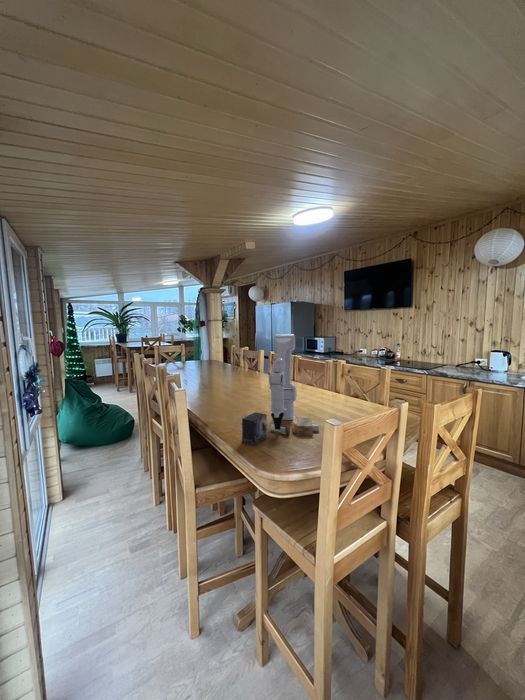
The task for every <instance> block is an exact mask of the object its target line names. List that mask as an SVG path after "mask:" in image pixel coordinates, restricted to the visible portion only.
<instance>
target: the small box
mask: <svg viewBox="0 0 525 700" xmlns="http://www.w3.org/2000/svg"><path fill="white" fill-rule="evenodd" d="M267 419H268V415H267V414H266V413H261V412H256V411H255V412H253V413H250V414H249V415H246V416H244V417H242V418H241V429H242V431H241V433H242V434H241V435H242V436H241V439H242V441H241V442H242V443H245V444H249V445H252V446H255V445H256V444H258V443H259V442H261V441H263V440H264V439H266V438H268V435H267V433H268V432H267V431H268V429H267V428H268V427H267V425H268V423H267ZM262 439H263V440H262Z"/></svg>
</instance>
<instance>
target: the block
mask: <svg viewBox="0 0 525 700" xmlns="http://www.w3.org/2000/svg"><path fill="white" fill-rule="evenodd" d="M296 420H297V433H296V436H314V432H313V425H312V424H313V420H312V417H296Z"/></svg>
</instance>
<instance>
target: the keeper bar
mask: <svg viewBox="0 0 525 700" xmlns="http://www.w3.org/2000/svg"><path fill="white" fill-rule="evenodd" d="M270 430H273V431H277V432H280V433H283V434H286V427H284V426H281V427H280V429H275V426H274V423H273V424H272V423H271V424H270Z"/></svg>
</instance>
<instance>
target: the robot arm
mask: <svg viewBox="0 0 525 700" xmlns="http://www.w3.org/2000/svg"><path fill="white" fill-rule="evenodd" d="M273 343H274V346H275V348H276V349H277V351H276V353H277V354H276V359H275V360H273V364H272V369H271V373H270V374H269V376H268V383H269V389H270V412H271V414H270V416H271V417H272V418H271V419H272V420H273V425H274V426H275V429H280V427H282V426H281V425H282V421H293V420H296V418H295V417H296V416H295V407H294V404H295V403H294V402H296V401H297V395H298V394H297V393H298V392H297V386H296V385H295V384H294V383H293V382H292V351H295V350H296V336H295V334H294V333H292V334H277V333H276V334H275V335H274V339H273Z"/></svg>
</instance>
